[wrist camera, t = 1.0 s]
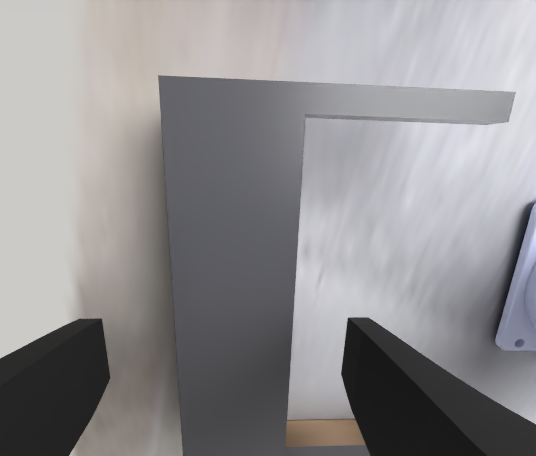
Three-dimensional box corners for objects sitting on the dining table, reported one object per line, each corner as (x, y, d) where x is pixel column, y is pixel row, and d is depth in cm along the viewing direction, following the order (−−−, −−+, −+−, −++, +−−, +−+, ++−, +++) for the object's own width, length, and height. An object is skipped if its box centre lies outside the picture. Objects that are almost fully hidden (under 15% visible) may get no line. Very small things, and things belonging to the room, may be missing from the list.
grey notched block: (429, 112, 12) (515, 91, 8) (381, 396, 16) (423, 477, 12) (191, 102, 11) (158, 75, 7) (202, 400, 15) (185, 485, 11)
